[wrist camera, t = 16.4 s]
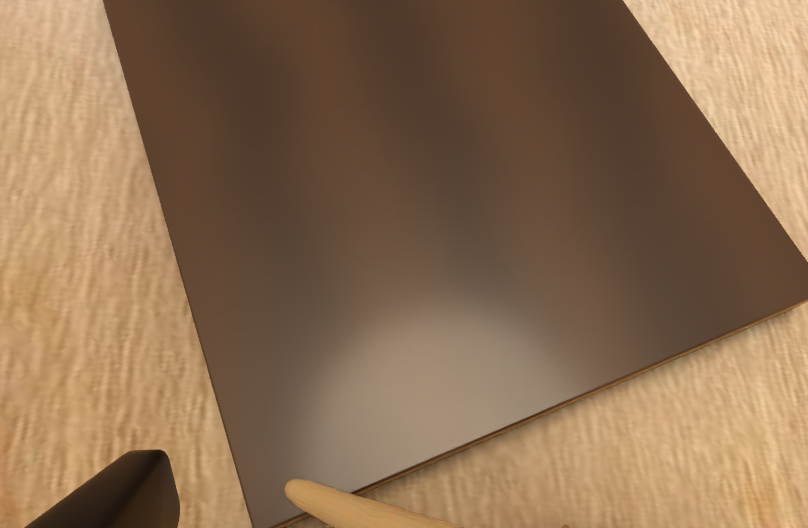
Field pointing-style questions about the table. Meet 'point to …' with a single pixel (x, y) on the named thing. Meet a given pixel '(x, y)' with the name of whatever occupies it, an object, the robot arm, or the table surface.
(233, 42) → the desk board
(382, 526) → the ice cream cone
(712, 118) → the table surface
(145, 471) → the robot arm
